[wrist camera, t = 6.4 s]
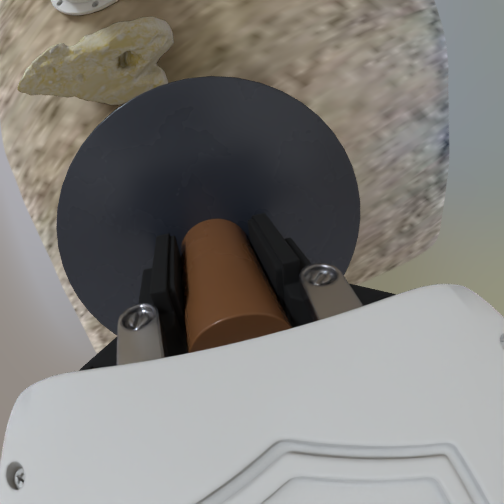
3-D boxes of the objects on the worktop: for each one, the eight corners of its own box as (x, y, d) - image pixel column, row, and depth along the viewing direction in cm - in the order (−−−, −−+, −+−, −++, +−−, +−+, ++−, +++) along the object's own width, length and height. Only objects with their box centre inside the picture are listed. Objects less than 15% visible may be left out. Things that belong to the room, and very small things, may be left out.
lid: (30, 131, 9) (-80, 175, 3) (344, 71, 11) (469, 70, 5) (126, 362, 16) (123, 462, 10) (341, 311, 18) (397, 393, 12)
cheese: (200, 50, 27) (132, -33, 14) (207, 84, 26) (123, -17, 12) (105, 108, 32) (30, 54, 18) (101, 147, 30) (9, 92, 16)
